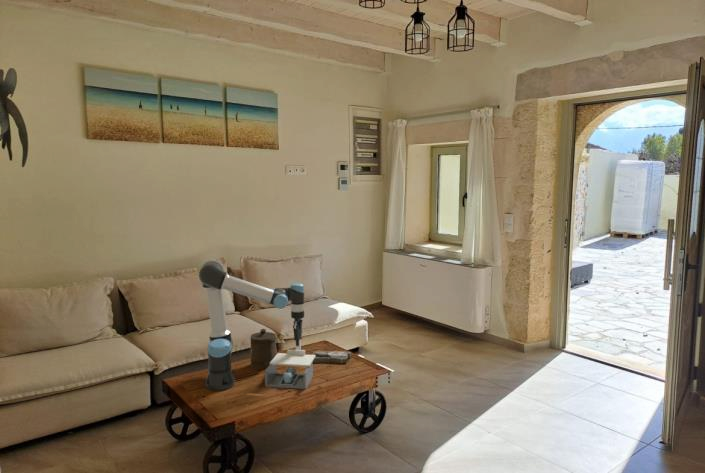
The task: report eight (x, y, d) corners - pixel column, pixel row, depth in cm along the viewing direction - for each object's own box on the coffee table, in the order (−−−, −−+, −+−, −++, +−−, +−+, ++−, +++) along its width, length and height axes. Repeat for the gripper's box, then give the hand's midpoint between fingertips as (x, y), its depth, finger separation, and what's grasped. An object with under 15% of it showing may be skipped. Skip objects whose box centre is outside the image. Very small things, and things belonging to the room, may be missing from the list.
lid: (269, 364, 257) (269, 358, 257) (277, 354, 272) (277, 348, 272) (309, 366, 254) (309, 360, 254) (315, 356, 269) (315, 350, 269)
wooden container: (261, 359, 292) (260, 324, 290) (281, 363, 286) (280, 327, 283) (245, 367, 279) (244, 331, 276) (266, 371, 272) (265, 334, 270)
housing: (265, 388, 250) (264, 370, 249) (274, 376, 266) (273, 359, 265) (305, 390, 247) (305, 373, 246) (312, 378, 263) (312, 361, 262)
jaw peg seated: (285, 380, 258) (285, 369, 257) (287, 376, 263) (287, 366, 262) (294, 380, 257) (294, 370, 256) (297, 377, 262) (297, 366, 262)
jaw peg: (281, 386, 250) (281, 375, 250) (284, 382, 255) (284, 371, 255) (291, 386, 250) (291, 375, 249) (293, 382, 255) (293, 372, 254)
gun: (348, 359, 282) (351, 350, 297) (307, 357, 285) (312, 349, 300) (348, 365, 283) (351, 356, 298) (307, 363, 286) (312, 355, 300)
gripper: (301, 313, 265) (301, 354, 267) (306, 307, 278) (307, 347, 280) (288, 313, 266) (288, 354, 268) (294, 307, 279) (294, 346, 281)
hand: (298, 350), depth 274 cm, fingers closed
